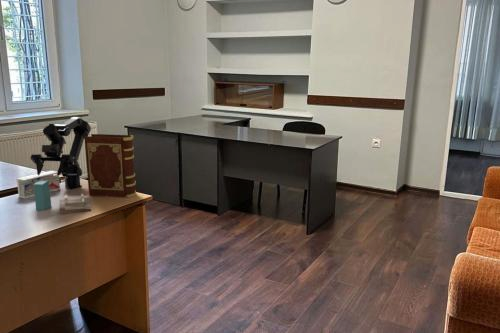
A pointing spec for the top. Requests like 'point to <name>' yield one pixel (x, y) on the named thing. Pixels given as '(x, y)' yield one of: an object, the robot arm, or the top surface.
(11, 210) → the top surface
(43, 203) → the teal rectangular block
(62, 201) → the book stand
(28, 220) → the top surface
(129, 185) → the decorative book
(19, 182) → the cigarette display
